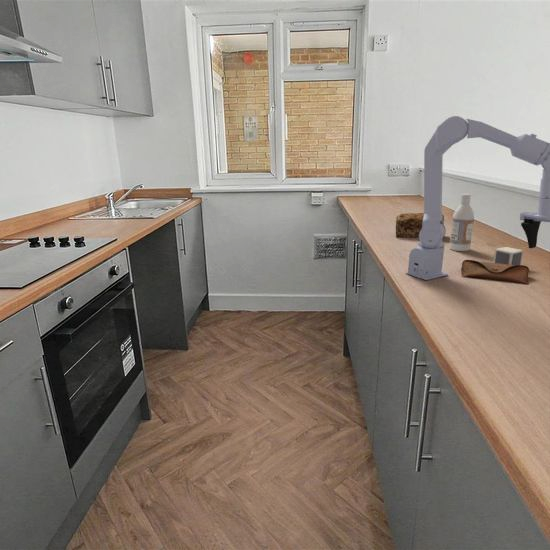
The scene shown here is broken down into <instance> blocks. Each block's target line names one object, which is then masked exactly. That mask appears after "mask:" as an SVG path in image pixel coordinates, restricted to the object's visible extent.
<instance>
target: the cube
mask: <svg viewBox="0 0 550 550" xmlns="http://www.w3.org/2000/svg"><path fill="white" fill-rule="evenodd" d="M523 253H524V250H522V249H519V248H514V247H510V246H509V247H508V246H503V247H499V248H498V247H497V248H495V250H494V254H493V255H494V256H493V262H492V263H499V264H508V265H522V260H523Z"/></svg>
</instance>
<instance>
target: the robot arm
mask: <svg viewBox="0 0 550 550" xmlns="http://www.w3.org/2000/svg"><path fill="white" fill-rule="evenodd" d="M537 136H538V135H537V134H535V133H530V134H527V133H524V134H522V135H518V136H515V135H513V134H511V133H509V132H506V131H503V130H501V129H499V128H498V127H497V128H496V127H494V126H492V125H490V124H487V123H485V122H483V121H478V120H474V119H469V118H466V119H465V118H463V117H461V116H459V115H453V116H449V117H448V118H446V119H445V120H444V121H442V123H440V124H439V125H438V126H437V127H436V129H435V131H434V132H433V134H432V136H431V138H430V139H429V141H428V142H427V144H426V146H425V147H424V160H423V161H424V162H423V171H424V172H423V176H424V178H423V179H424V180H423V183H424V185H423V198H424V199H423V213H424V217H423V225H422V229H421V231H420V233H419V241H418V243H417V244H418V245H417V246H416V247H415V248H413V249H411V250H410V252H409V256H408V265H407V266H408V267H407V268H408V269H407V271H405V274H406V273H407V275H409V276H413V277H415V278H418V279H422V280H424V281H428V280H433V279H437V278H441V277H445V276H448V275H449V273H447V272H444V271H443V265H444V262H443V261H444V253H445V243H444V242H443V238H444V237H445V235H446V232H447V231H446V230H447V229H446V226H445V224H443V220H442V215H443V209H442V207H443V160H444V159H443V156H444V154H445V153H447V151H449V149H450V148H451V147H452V146H454V145H456V144H457V143H459V142H461V141H462V140H464V139H465V138H466V139H476V138H477V139H478V138H480V139H483V140H486V141H489V142H492V143H494V144H497V145H499V146H502V147H505V148H506V149H507V148H508V149H510V153H511V156H512V157H515V158H516V159H519V160H521V161H524V162H527V163H529V164H531V165H533V166H537V167H538V166H541V167H542V168H543V169H542V174H541V175H542V176H541V179H540V186H539V196H538V197H539V198H538V205H537V206H538V207H537V212H531V211H529V212H528V211H526V212H525V211H524V212H520V214H519V221H523V222H520V227H521V228H522V229H523V231H524V233H525V237H526V238H527V239H526V240H527V244H528V249H535V248H536V247H537V242H538V233H539V230H540V226H541V223H542V222H543V223H550V142H549V141H548V142H547V141H545V140H542V139H540V138H537Z"/></svg>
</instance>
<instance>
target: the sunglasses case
mask: <svg viewBox="0 0 550 550" xmlns="http://www.w3.org/2000/svg"><path fill="white" fill-rule="evenodd" d="M460 269H461V273H460V274H461V275H460V276H461V278H466V277H467V278H468V279H480V280H487V279H488V281H489V280H491V281H498V282H507V283H513V284H515V283H516V284H521V283H522V284H521V285H530V283H529V271H530V270H529V269H530V268H529V267H528V266H527V265H524V264H523V265H522V264H521V265H508V264H499V263H493V262H489V261H488V262H487V261H479V260H475V259H474V260H473V259H465V260H463V261H462V262H461V268H460Z"/></svg>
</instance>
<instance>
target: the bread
mask: <svg viewBox="0 0 550 550" xmlns="http://www.w3.org/2000/svg"><path fill="white" fill-rule="evenodd" d="M423 217H424V212H418V213H416V212H415V213H411V212H409V213H399V215H397V216H396V219H395V238H399V237H400V238H403V239H418V238H419V233H420V231H421V229H422V225H423ZM442 220H443V224H444V223H445V216H444V214H442ZM444 225H445V224H444Z"/></svg>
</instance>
